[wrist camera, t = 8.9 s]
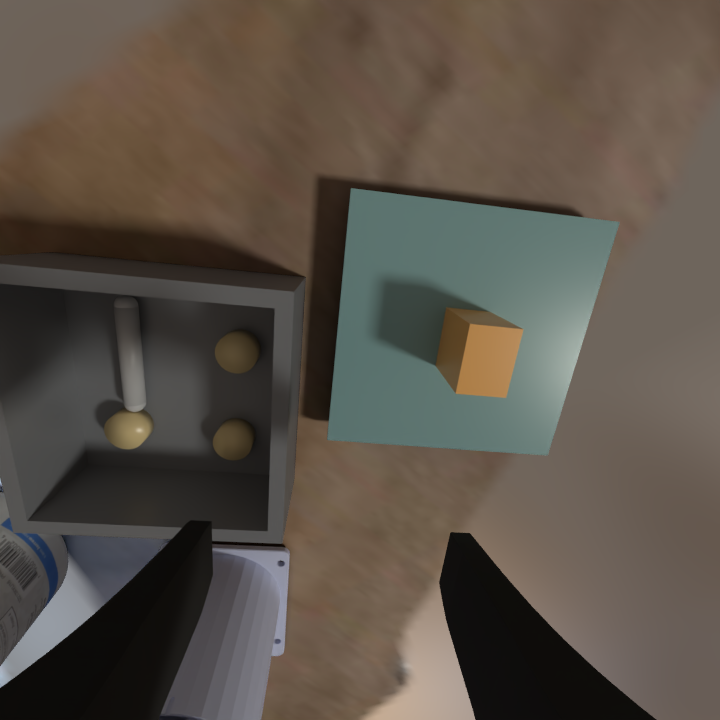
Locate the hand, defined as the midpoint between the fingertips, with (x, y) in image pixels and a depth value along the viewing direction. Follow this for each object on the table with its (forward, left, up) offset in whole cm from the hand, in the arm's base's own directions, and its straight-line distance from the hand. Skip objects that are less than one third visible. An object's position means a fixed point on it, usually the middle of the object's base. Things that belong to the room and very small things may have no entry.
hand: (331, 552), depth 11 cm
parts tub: (+1, +8, -10) cm, 13 cm away
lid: (+5, -6, -10) cm, 13 cm away
